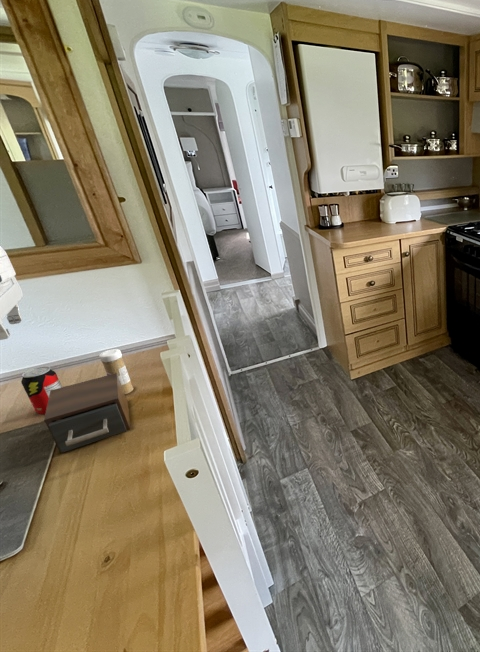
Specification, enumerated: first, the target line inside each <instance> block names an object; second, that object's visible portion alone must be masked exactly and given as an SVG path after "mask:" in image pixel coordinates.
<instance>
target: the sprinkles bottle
mask: <svg viewBox="0 0 480 652" xmlns="http://www.w3.org/2000/svg"><path fill="white" fill-rule="evenodd" d="M98 357H99V360H100V362H101V363H102V365H103V367H104V370H105V374H106V376H107V375H111V374H115V373H117V375H118V377H119V380H120V383H121V385H122V388H123V391H124V393H125V395H128V394H130V393H131V392H133V391H134V386H133V385H132V382H131V378H130V376H129V375H130V374H129V372H128V370H127V367H126V364H125V362H124V359H123V354H122V352H121V350H120V349H118V348H115V349H113V348H112V349H108V350H104V351H102V352H101V353H99V355H98Z"/></svg>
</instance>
